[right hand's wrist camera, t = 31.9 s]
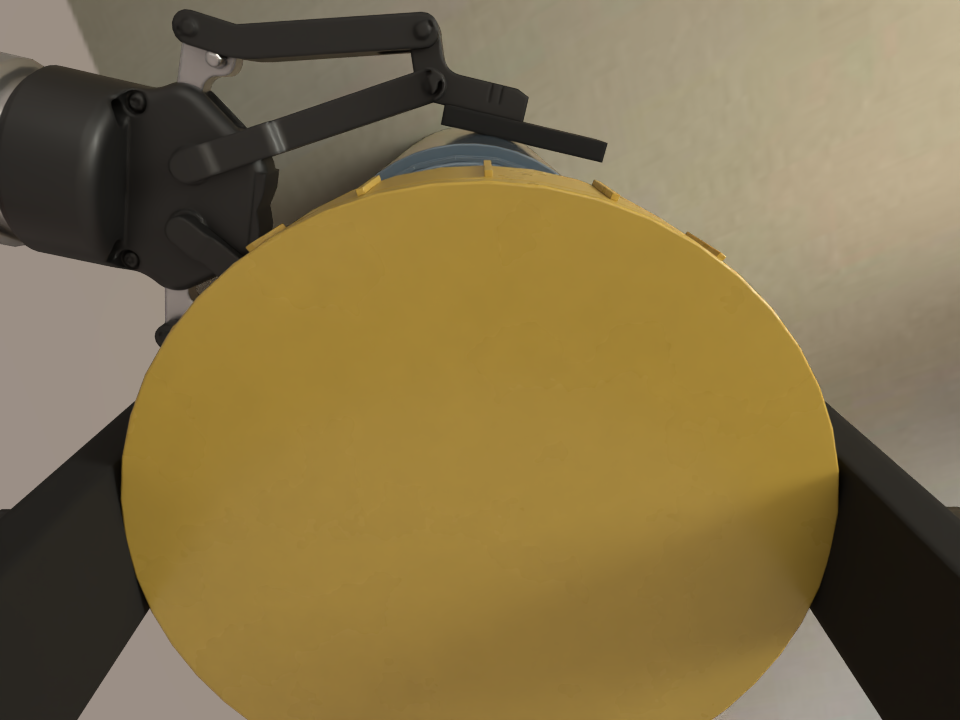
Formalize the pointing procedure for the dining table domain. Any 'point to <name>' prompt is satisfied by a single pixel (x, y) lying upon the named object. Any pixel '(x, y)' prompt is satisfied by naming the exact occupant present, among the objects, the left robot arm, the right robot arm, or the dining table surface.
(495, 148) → the jar
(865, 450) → the right robot arm
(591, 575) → the lid
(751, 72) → the dining table surface
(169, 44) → the dining table surface
